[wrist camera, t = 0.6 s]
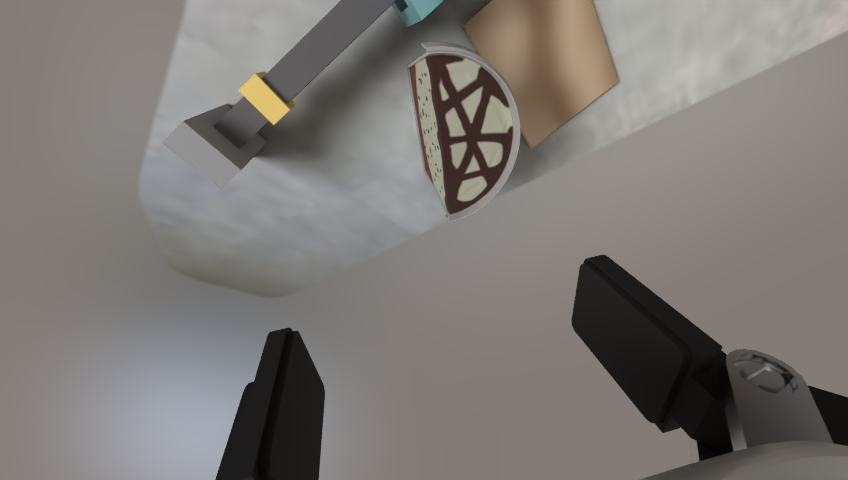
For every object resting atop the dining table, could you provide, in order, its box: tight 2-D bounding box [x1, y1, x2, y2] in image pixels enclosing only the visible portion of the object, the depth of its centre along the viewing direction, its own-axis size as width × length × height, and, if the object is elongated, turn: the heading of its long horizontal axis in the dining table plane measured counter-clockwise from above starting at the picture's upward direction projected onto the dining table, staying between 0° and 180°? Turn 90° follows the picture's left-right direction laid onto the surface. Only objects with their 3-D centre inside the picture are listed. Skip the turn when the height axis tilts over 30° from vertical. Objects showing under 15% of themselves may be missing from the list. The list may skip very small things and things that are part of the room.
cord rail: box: [162, 0, 396, 189], centre depth 22 cm, size 29×4×8 cm, turn 128°
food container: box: [407, 41, 520, 222], centre depth 26 cm, size 12×6×10 cm, turn 9°
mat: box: [462, 0, 618, 148], centre depth 29 cm, size 10×13×1 cm
